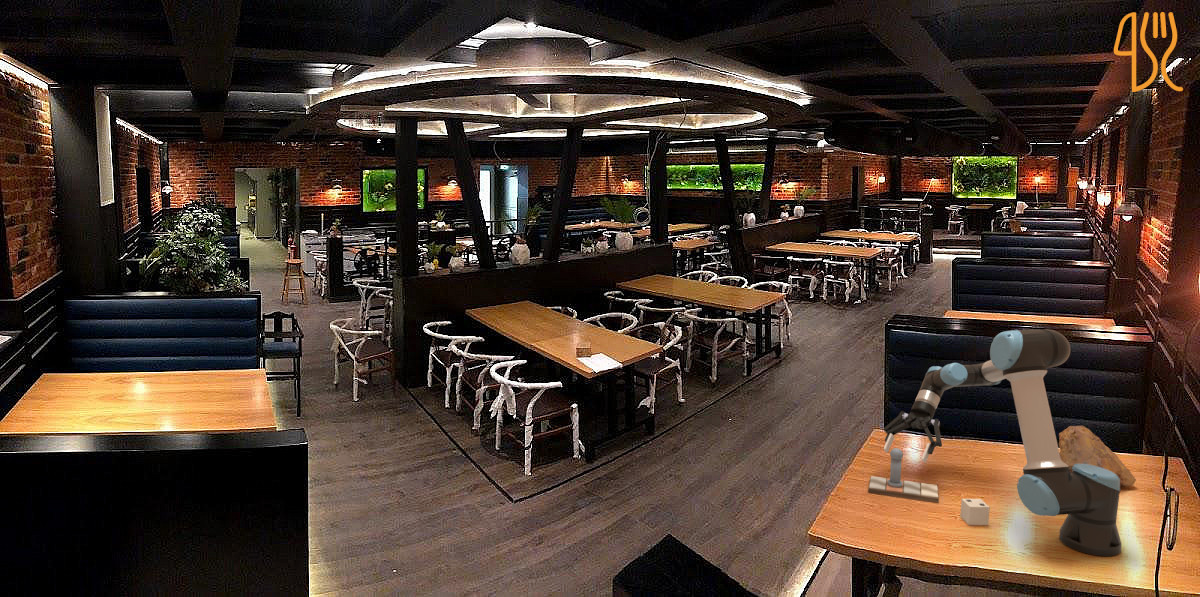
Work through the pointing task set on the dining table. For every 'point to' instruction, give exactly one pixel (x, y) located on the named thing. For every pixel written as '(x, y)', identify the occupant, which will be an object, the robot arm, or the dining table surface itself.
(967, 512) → the die
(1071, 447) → the rock
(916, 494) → the board
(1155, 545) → the dining table surface
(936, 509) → the dining table surface
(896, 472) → the pawn
